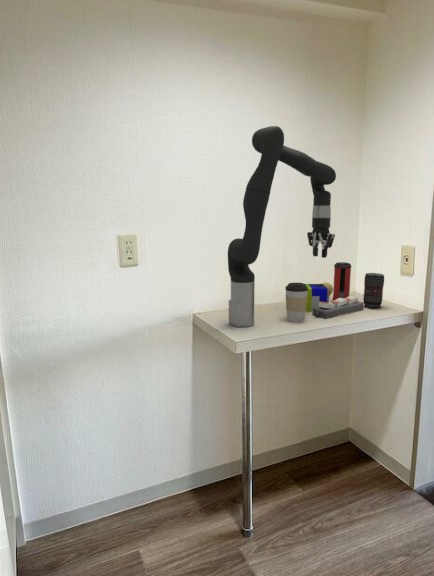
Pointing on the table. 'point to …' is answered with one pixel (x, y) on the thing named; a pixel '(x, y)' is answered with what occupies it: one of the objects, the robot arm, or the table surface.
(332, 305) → the rocker
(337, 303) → the rocker
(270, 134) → the robot arm
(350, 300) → the rocker
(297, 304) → the coffee cup
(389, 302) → the table surface
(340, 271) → the speaker
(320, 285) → the puzzle toy
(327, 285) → the beige rounded piece
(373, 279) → the camera lens
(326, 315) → the power strip
